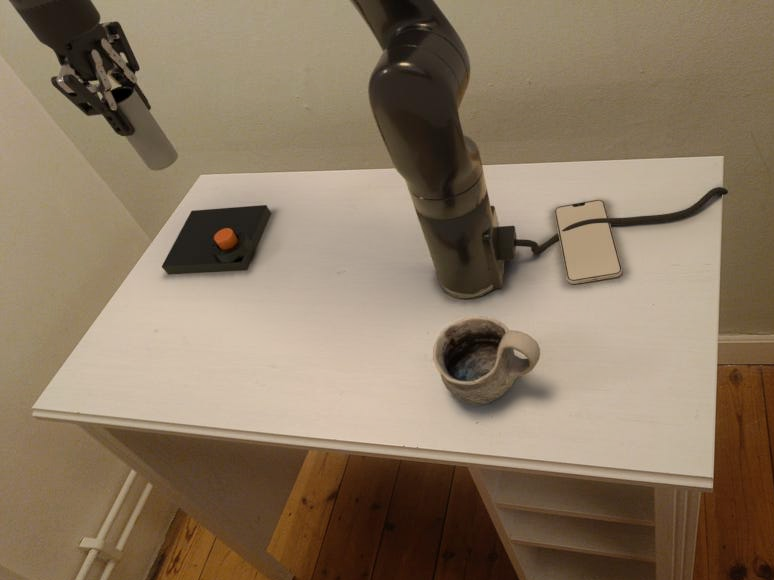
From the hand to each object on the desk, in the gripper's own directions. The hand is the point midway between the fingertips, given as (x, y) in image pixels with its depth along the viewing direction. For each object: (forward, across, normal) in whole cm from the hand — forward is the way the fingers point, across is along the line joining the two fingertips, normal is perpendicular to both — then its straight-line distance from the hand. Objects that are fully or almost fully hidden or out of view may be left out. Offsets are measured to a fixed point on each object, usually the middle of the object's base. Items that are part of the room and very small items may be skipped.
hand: (136, 121), depth 83 cm
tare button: (+19, -4, -5) cm, 20 cm away
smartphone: (+22, -5, -59) cm, 64 cm away
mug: (+22, -28, -48) cm, 60 cm away
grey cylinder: (+7, 0, 0) cm, 7 cm away
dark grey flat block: (+22, 0, 0) cm, 22 cm away
